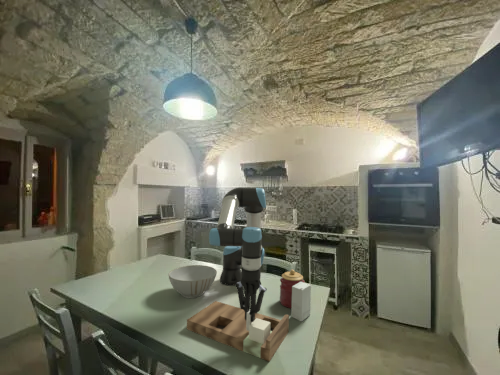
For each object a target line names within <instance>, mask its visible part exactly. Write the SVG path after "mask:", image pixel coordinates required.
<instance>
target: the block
mask: <svg viewBox="0 0 500 375" xmlns="http://www.w3.org/2000/svg"><path fill="white" fill-rule="evenodd" d="M270 325H271V322H268V321H265V320H261V319H258V318H256V319H255V320H254V321H253V322H252V323H251V324H250V325H249V339H250V340H253V341H256V342H258V343H261V344H264V343H265V342H266V339H267V338H268V337H269V335H270Z"/></svg>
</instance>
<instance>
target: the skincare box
mask: <svg viewBox="0 0 500 375" xmlns="http://www.w3.org/2000/svg"><path fill="white" fill-rule="evenodd" d="M311 288H312V285H311V284H309V283H306V282H305V283H303V282H299V283H297V284H296V285H294V286H292V308H290V309H291V310H290V311H291V313H290V314H291V315H290V316H291V318H293V319H295V320H297V321H299V322H303V321H304V320H305V319H307V318H308V317H309V316H311V300H312V299H311V295H312V292H311V291H312V290H311Z"/></svg>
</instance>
